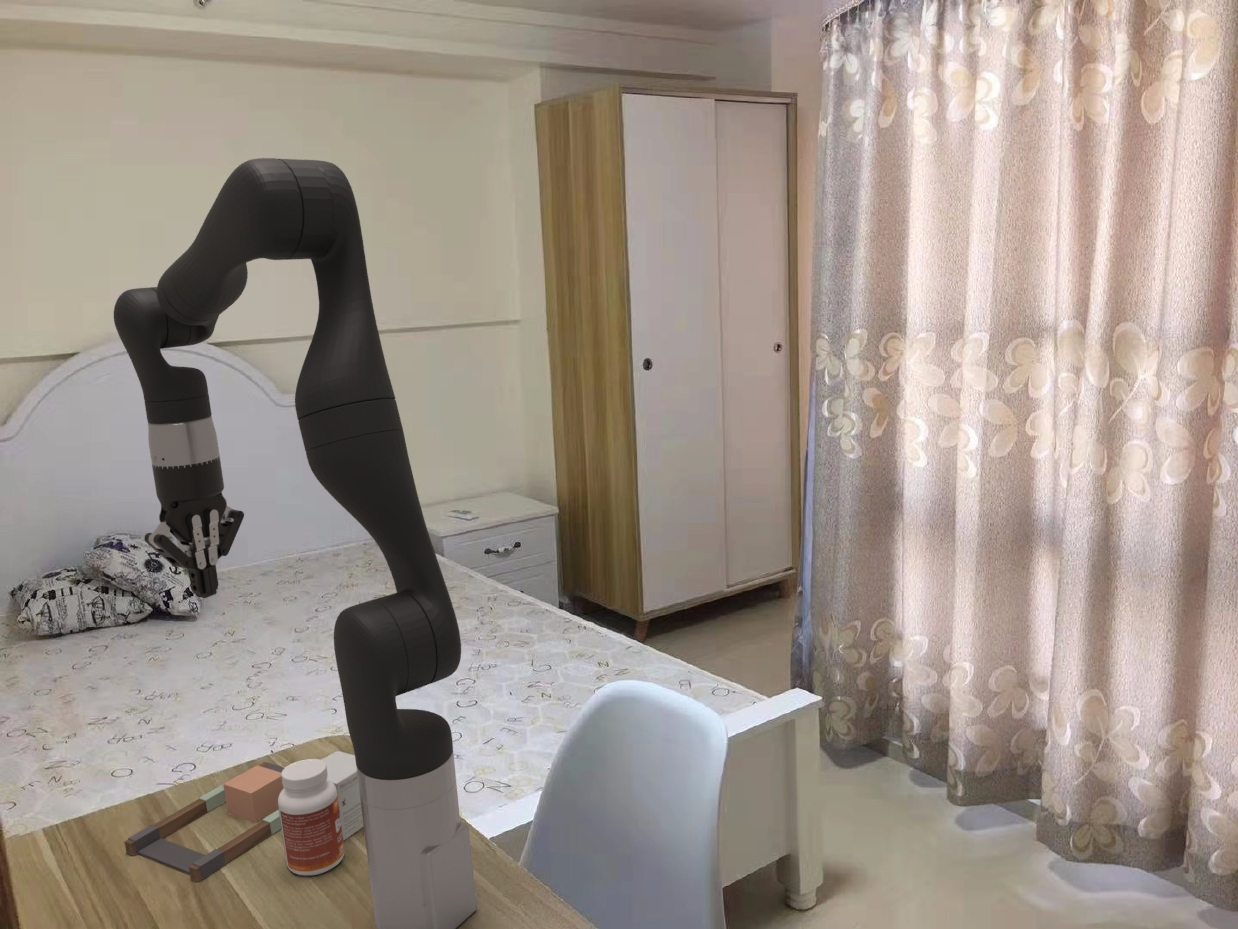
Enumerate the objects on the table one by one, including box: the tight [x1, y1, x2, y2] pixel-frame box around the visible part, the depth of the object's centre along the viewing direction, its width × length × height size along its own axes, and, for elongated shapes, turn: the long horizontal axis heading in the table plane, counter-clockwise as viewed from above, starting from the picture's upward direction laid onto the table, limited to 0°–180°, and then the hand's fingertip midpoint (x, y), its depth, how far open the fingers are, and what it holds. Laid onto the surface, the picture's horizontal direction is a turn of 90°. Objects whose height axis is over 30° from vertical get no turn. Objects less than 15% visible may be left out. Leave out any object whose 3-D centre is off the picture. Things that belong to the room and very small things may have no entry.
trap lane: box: [124, 761, 285, 883], centre depth 124 cm, size 12×20×2 cm, turn 149°
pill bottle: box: [278, 758, 345, 876], centre depth 114 cm, size 6×6×11 cm
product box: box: [320, 750, 364, 841], centre depth 122 cm, size 6×6×7 cm
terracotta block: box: [222, 764, 284, 824], centre depth 126 cm, size 5×5×4 cm
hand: (206, 595), depth 128 cm, fingers closed
